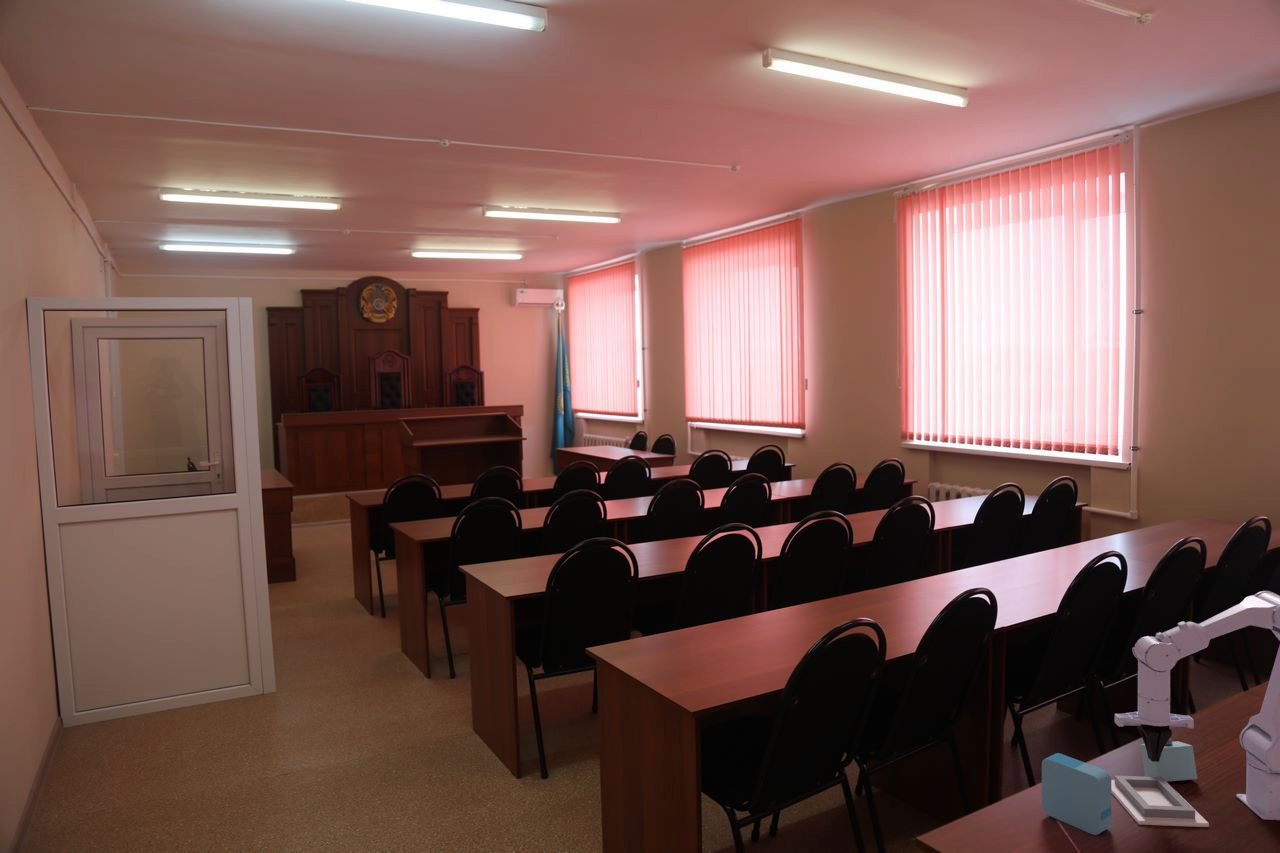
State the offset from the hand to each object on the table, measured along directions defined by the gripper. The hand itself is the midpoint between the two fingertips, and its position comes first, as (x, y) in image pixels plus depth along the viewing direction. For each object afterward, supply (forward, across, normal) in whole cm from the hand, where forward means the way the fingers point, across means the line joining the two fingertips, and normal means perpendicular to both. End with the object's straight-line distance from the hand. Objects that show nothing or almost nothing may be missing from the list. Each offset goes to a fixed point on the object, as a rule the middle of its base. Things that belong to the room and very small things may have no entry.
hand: (1153, 759), depth 173 cm
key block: (+9, -9, -11) cm, 17 cm away
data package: (+10, +18, +8) cm, 22 cm away
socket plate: (+10, 0, 0) cm, 10 cm away
